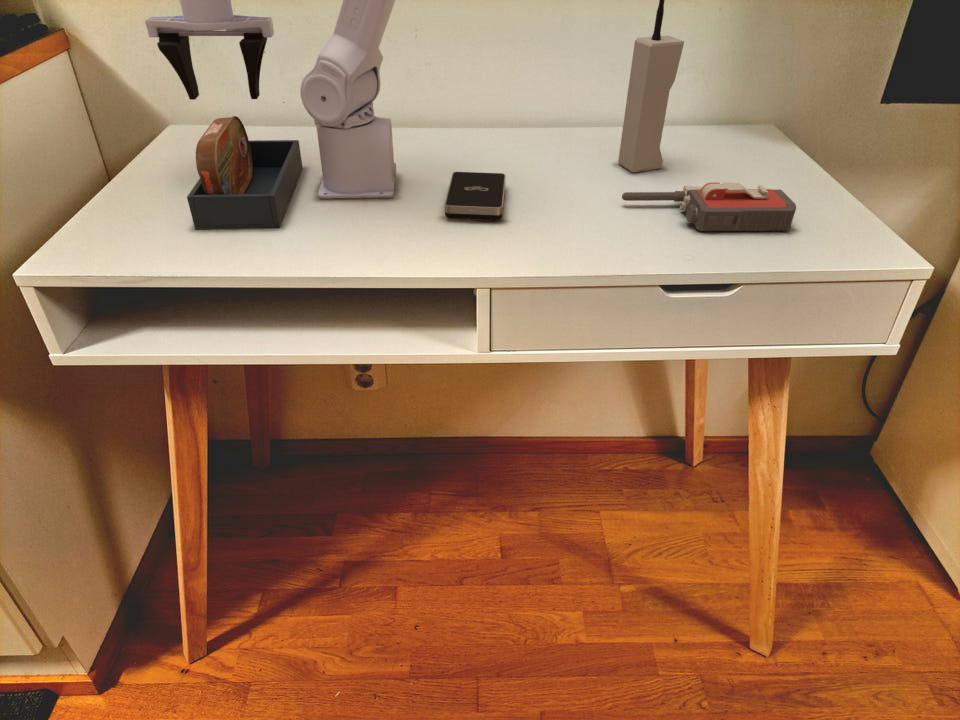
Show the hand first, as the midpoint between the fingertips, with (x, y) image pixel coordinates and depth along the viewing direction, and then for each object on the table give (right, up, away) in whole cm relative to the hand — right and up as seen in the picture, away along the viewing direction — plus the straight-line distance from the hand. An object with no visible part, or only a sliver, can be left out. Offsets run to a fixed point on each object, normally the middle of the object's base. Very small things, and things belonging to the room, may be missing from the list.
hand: (225, 97), depth 87 cm
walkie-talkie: (+61, -17, -4) cm, 63 cm away
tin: (+1, -13, -1) cm, 13 cm away
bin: (+4, -13, -1) cm, 14 cm away
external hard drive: (+32, -14, -2) cm, 35 cm away
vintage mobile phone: (+56, -7, +9) cm, 57 cm away
